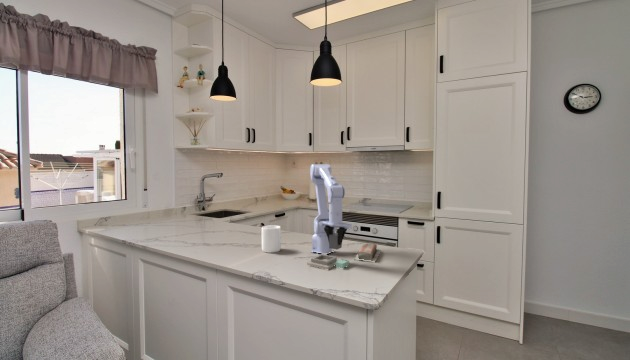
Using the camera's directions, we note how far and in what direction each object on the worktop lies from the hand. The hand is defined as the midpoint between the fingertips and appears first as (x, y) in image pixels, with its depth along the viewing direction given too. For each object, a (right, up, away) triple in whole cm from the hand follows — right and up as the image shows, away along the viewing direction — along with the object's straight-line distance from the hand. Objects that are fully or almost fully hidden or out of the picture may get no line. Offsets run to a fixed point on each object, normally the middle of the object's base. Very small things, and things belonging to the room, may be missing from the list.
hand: (335, 243), depth 133 cm
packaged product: (+16, -9, +11) cm, 21 cm away
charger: (0, -2, 0) cm, 2 cm away
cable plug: (+3, -9, -5) cm, 10 cm away
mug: (-32, -7, +19) cm, 38 cm away
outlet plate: (-5, -9, -1) cm, 10 cm away
